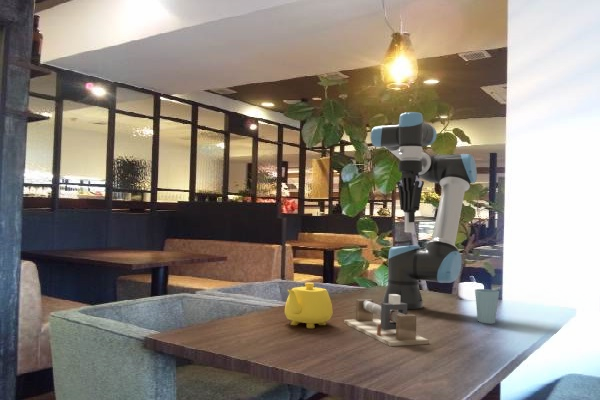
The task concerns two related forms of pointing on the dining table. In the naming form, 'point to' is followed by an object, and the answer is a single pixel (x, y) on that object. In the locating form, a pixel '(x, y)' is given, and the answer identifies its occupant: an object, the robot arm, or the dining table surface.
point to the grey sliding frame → (392, 305)
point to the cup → (486, 305)
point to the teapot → (308, 305)
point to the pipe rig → (372, 327)
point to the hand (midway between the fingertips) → (409, 232)
